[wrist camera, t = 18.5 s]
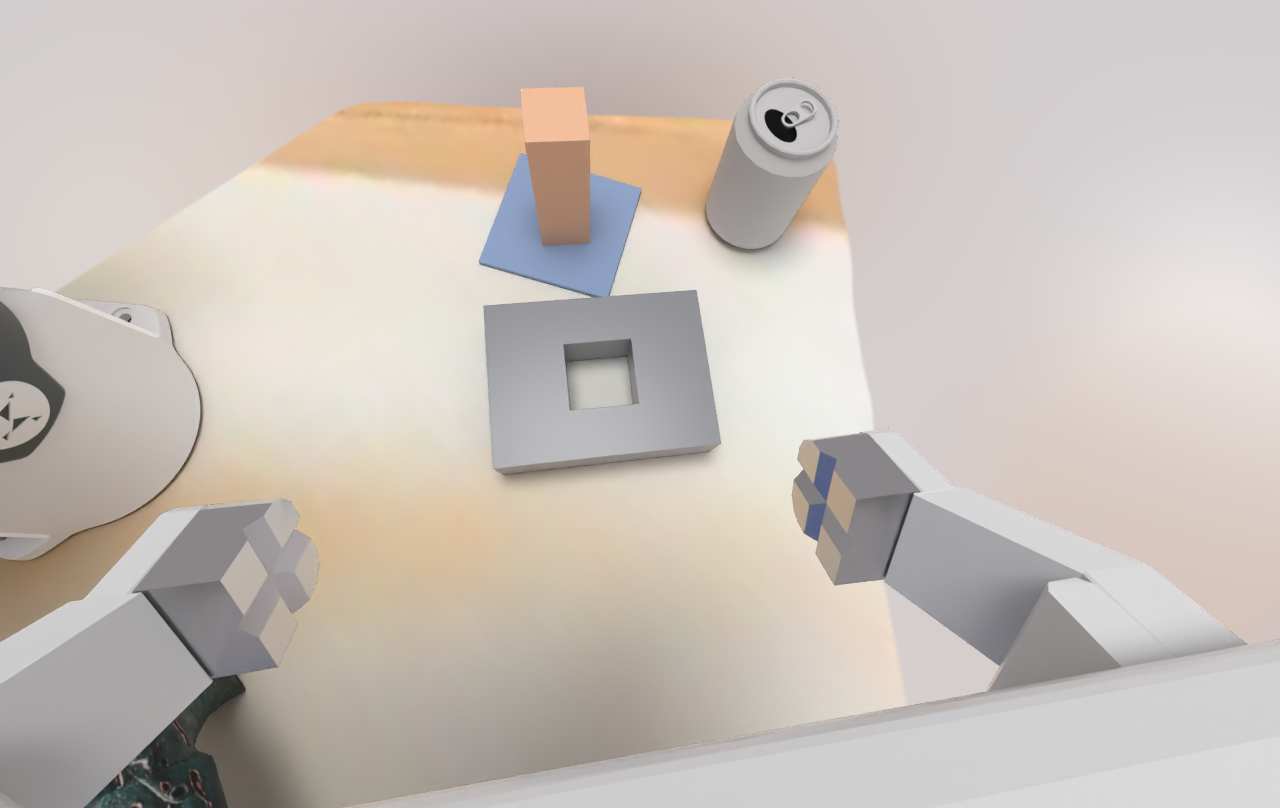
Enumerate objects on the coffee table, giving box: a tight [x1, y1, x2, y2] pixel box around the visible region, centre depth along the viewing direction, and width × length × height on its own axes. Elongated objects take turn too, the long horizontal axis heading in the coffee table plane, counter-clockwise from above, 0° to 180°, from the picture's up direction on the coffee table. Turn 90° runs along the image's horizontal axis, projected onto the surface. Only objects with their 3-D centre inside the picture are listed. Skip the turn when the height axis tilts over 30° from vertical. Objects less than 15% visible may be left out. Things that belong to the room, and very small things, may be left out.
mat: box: [479, 153, 642, 297], centre depth 44 cm, size 11×11×1 cm
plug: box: [520, 87, 590, 246], centre depth 38 cm, size 4×4×12 cm
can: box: [705, 78, 838, 249], centre depth 41 cm, size 8×8×12 cm
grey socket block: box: [484, 290, 721, 475], centre depth 40 cm, size 16×12×4 cm
